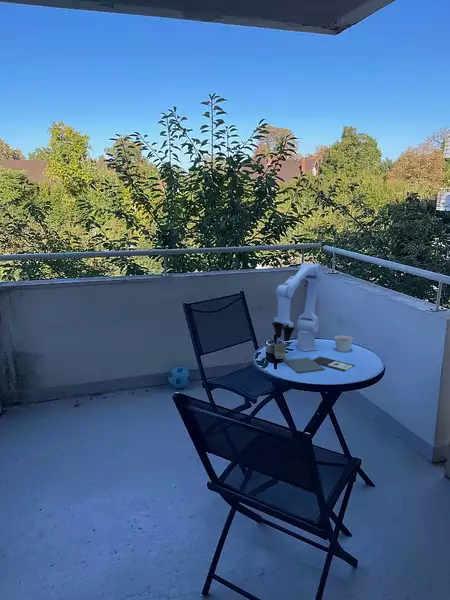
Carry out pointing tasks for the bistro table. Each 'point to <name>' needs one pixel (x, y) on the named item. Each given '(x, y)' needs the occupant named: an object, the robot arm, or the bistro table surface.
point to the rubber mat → (303, 365)
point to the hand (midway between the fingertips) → (282, 339)
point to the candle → (343, 343)
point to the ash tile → (280, 351)
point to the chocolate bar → (333, 364)
